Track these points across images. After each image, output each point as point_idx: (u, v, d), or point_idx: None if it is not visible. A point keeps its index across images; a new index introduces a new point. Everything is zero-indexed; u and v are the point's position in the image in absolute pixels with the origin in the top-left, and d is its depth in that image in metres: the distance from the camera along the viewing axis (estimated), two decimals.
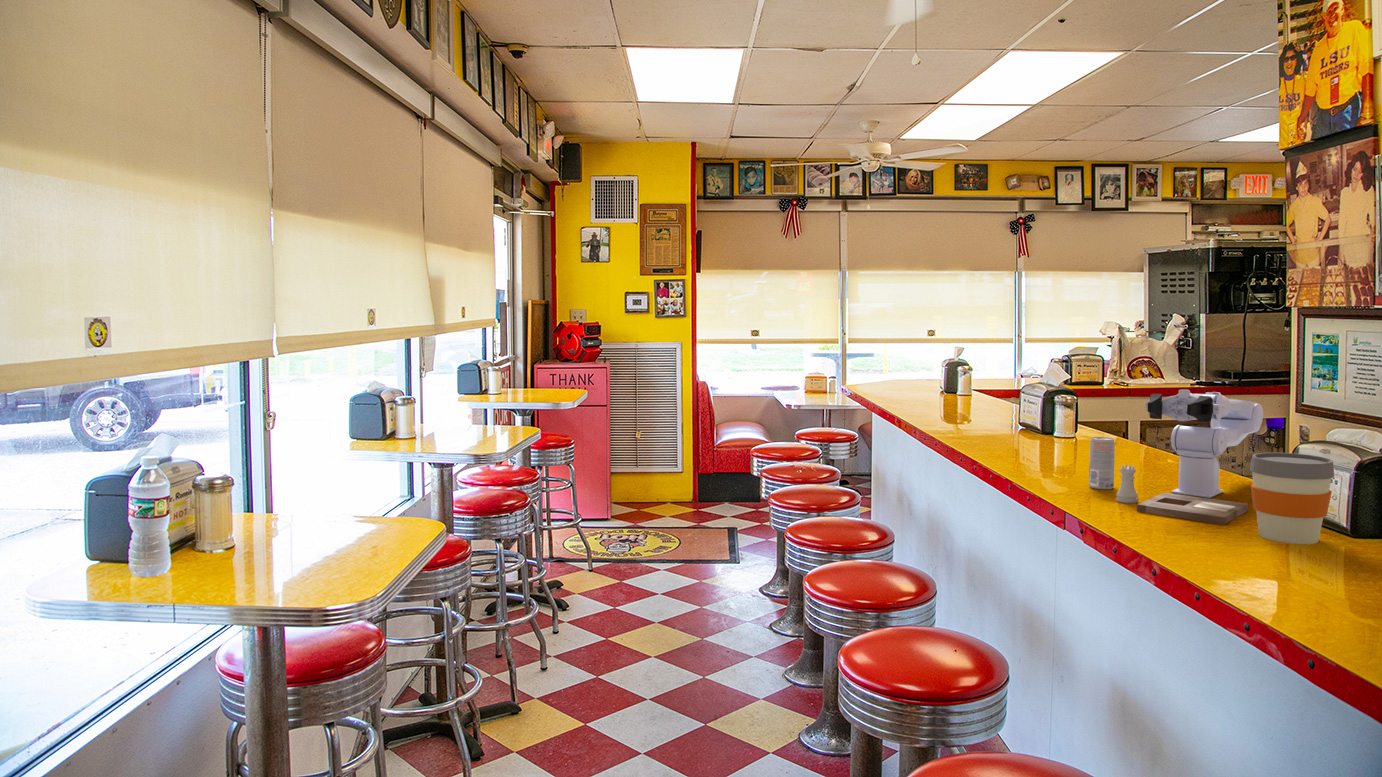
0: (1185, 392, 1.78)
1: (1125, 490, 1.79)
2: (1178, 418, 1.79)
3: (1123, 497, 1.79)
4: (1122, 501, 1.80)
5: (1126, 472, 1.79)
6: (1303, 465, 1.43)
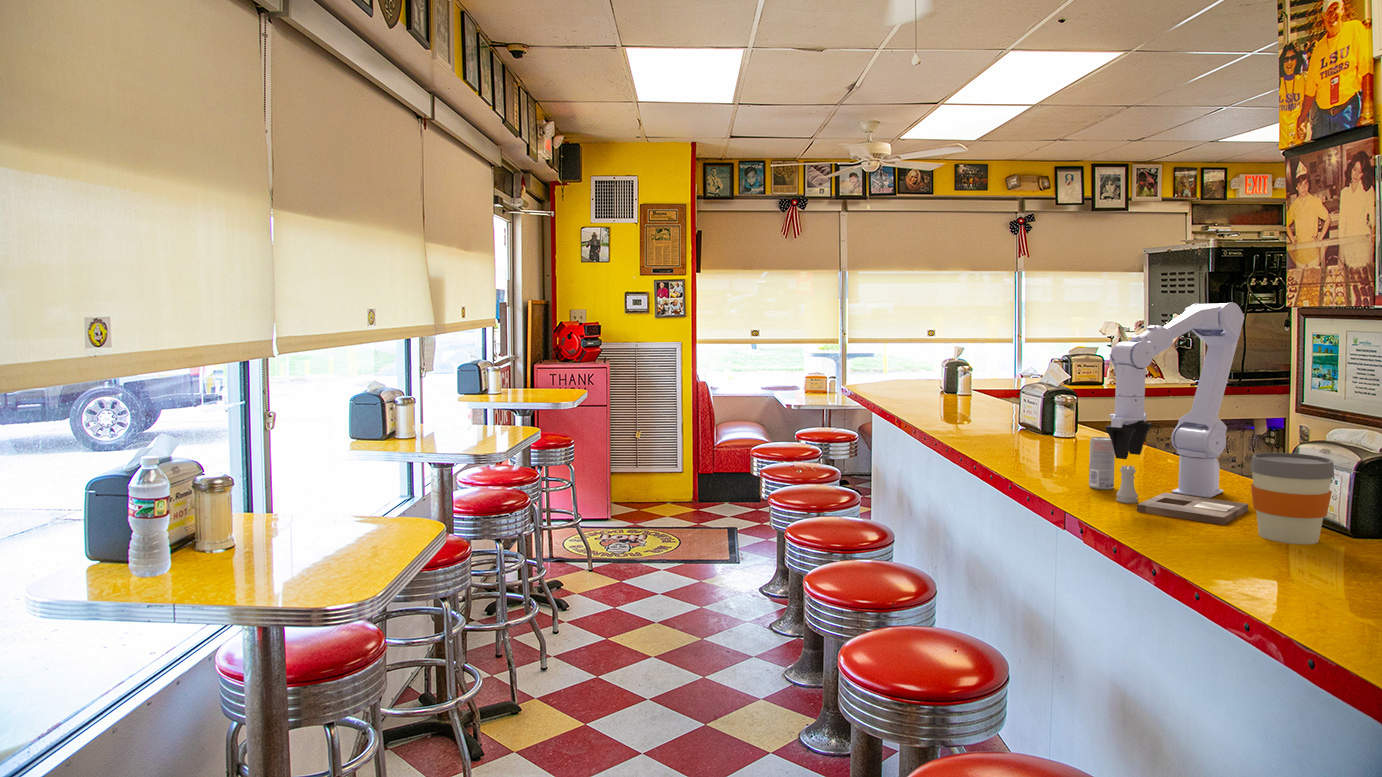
0: None
1: (1125, 490, 1.79)
2: None
3: (1123, 497, 1.79)
4: (1122, 501, 1.80)
5: (1126, 472, 1.79)
6: (1303, 465, 1.43)
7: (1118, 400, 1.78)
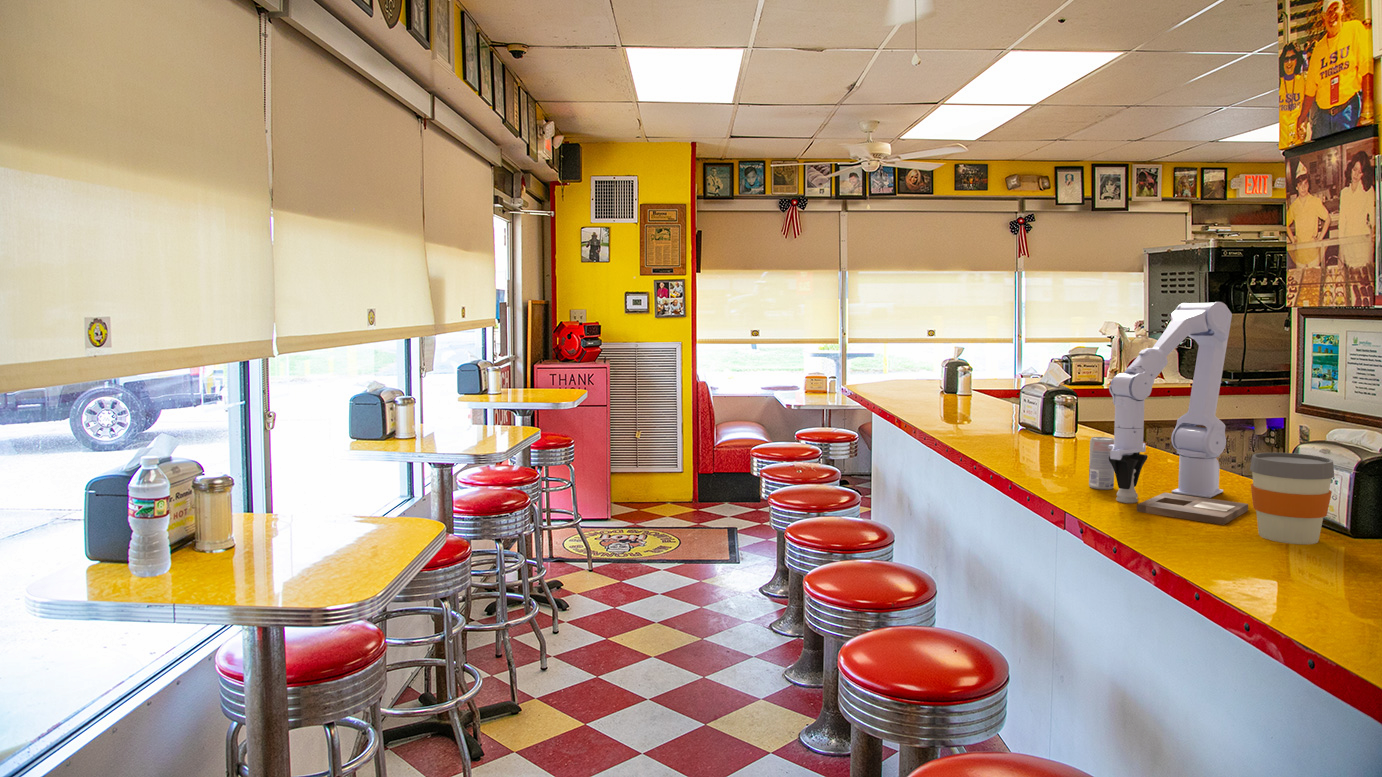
0: None
1: (1125, 490, 1.79)
2: None
3: (1123, 497, 1.79)
4: (1122, 501, 1.80)
5: None
6: (1303, 465, 1.43)
7: (1117, 431, 1.79)
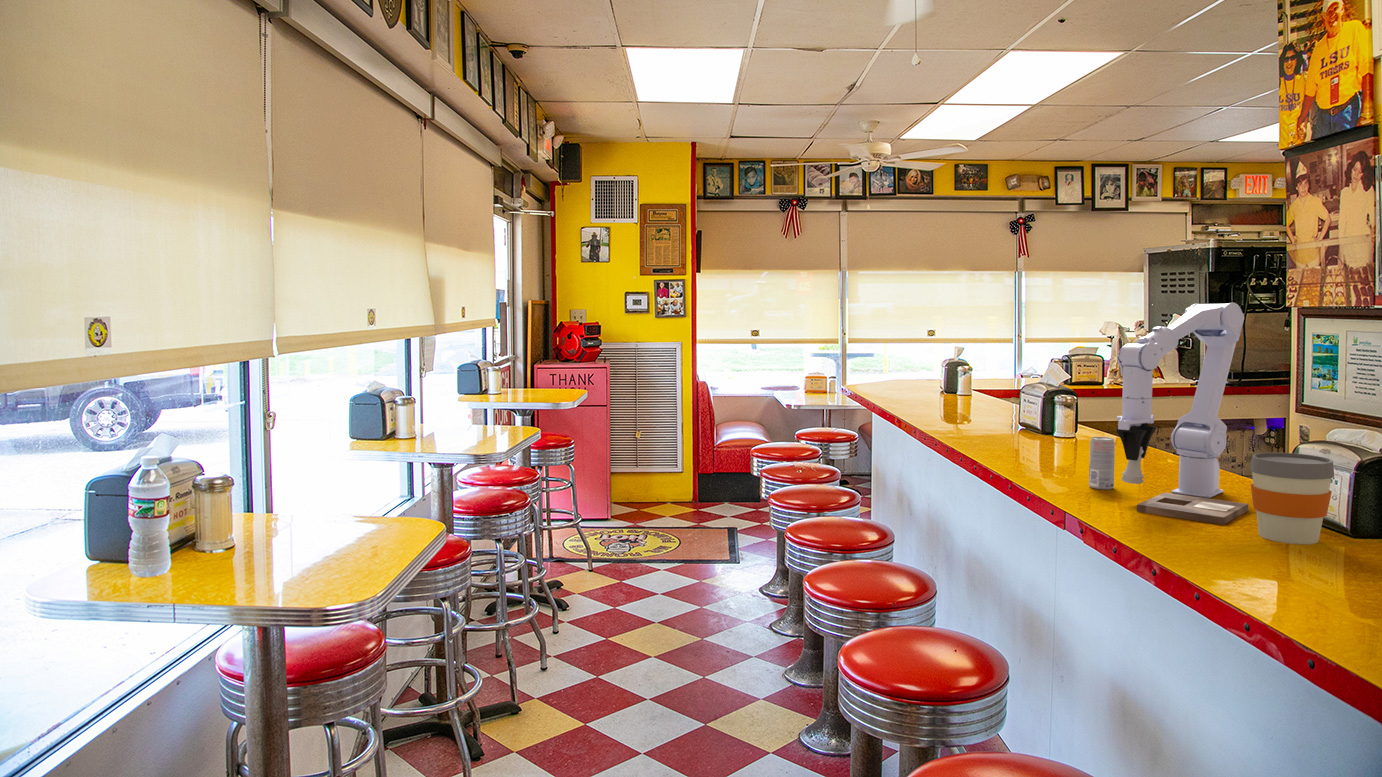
0: None
1: (1131, 470, 1.78)
2: None
3: (1129, 477, 1.78)
4: (1128, 481, 1.78)
5: None
6: (1303, 465, 1.43)
7: (1125, 402, 1.77)
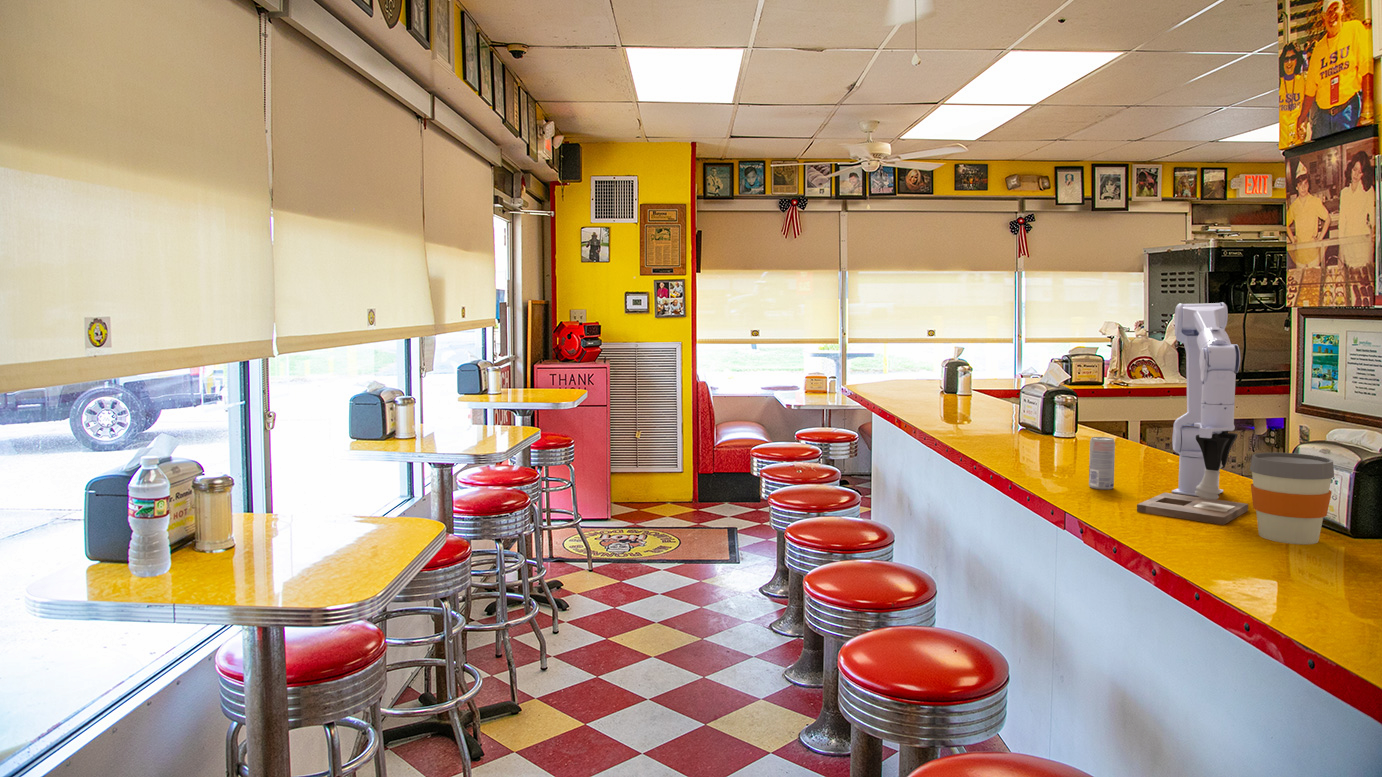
0: (1197, 426, 1.69)
1: (1207, 485, 1.67)
2: None
3: (1205, 492, 1.67)
4: (1203, 496, 1.67)
5: None
6: (1303, 465, 1.43)
7: (1205, 408, 1.66)
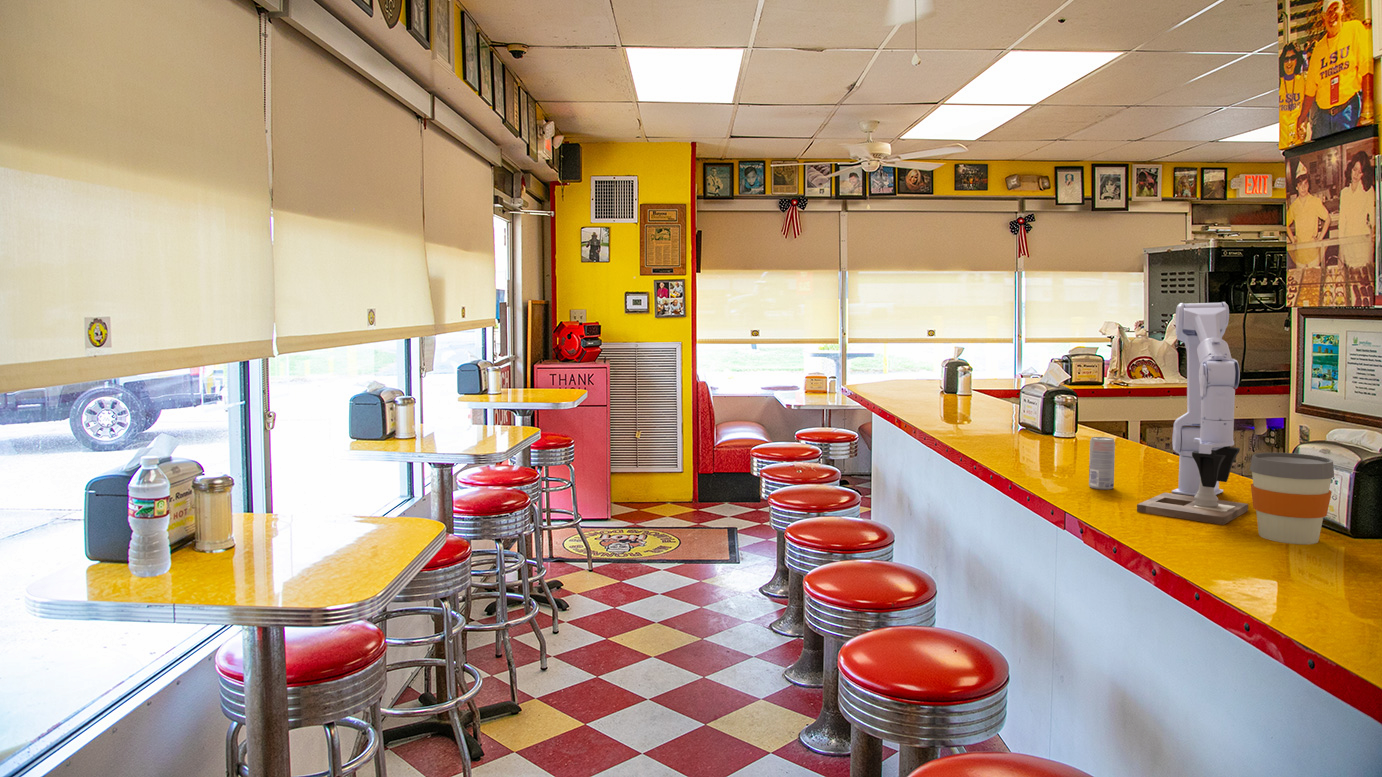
0: (1197, 441, 1.69)
1: (1204, 493, 1.68)
2: None
3: (1203, 501, 1.67)
4: (1202, 505, 1.68)
5: None
6: (1303, 465, 1.43)
7: (1205, 424, 1.66)
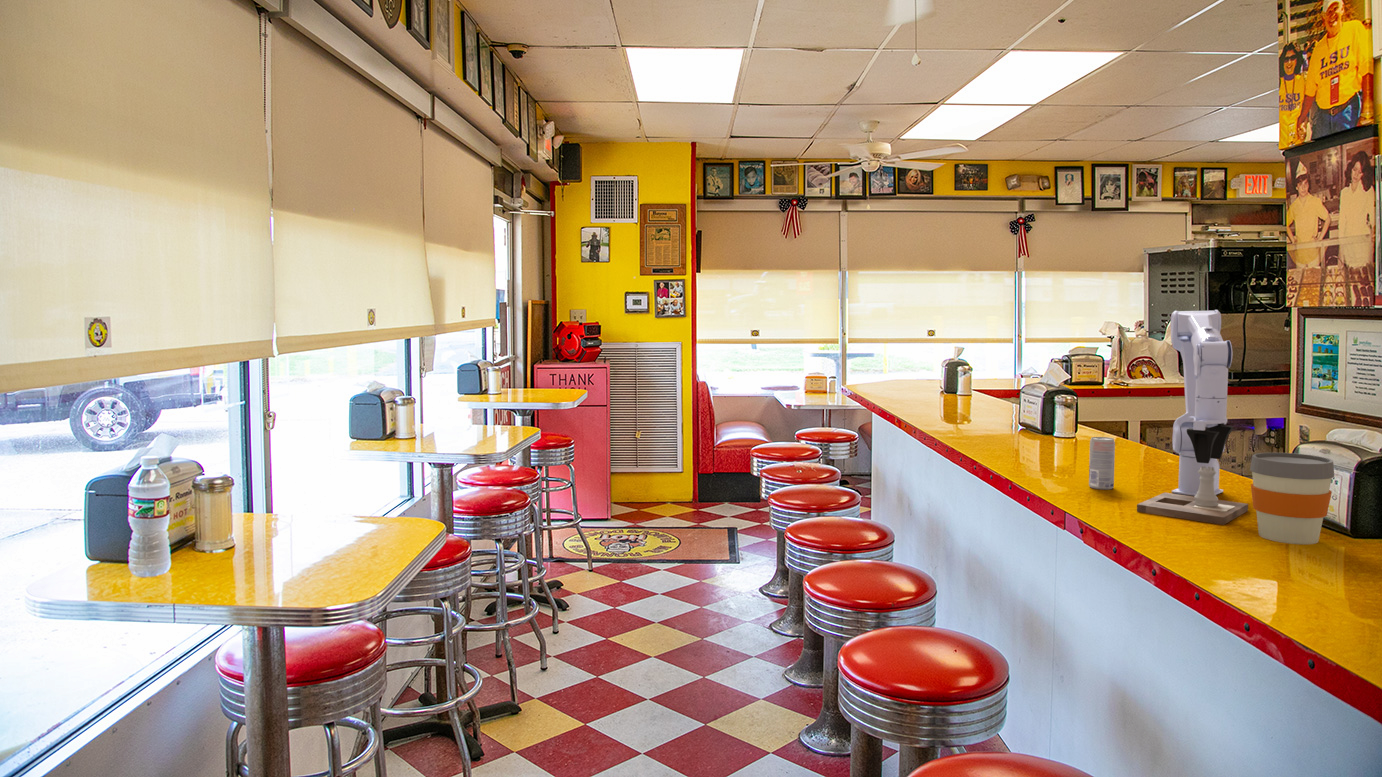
0: (1191, 420, 1.75)
1: (1204, 493, 1.68)
2: None
3: (1203, 501, 1.67)
4: (1202, 505, 1.68)
5: (1206, 473, 1.67)
6: (1303, 465, 1.43)
7: (1199, 402, 1.72)
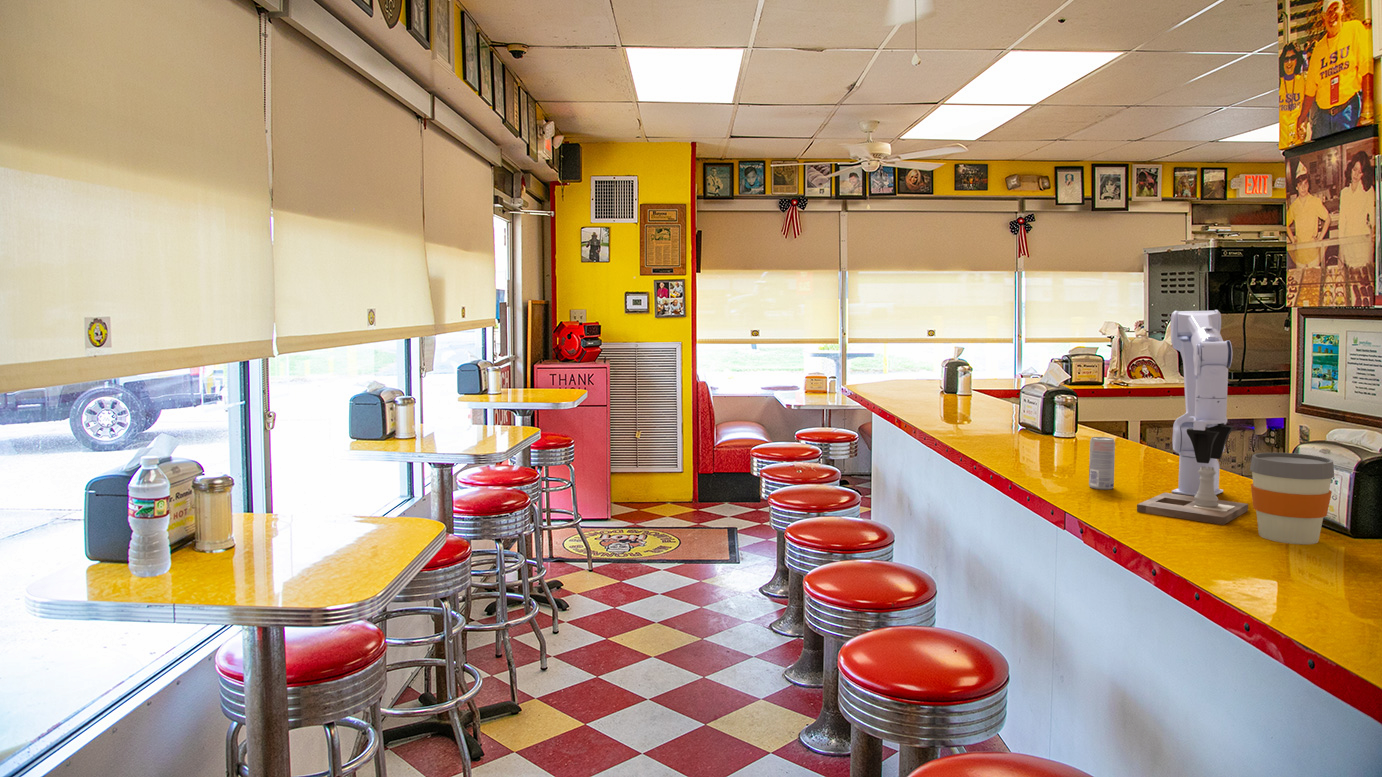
0: (1191, 420, 1.75)
1: (1204, 493, 1.68)
2: None
3: (1203, 501, 1.67)
4: (1202, 505, 1.68)
5: (1206, 473, 1.67)
6: (1303, 465, 1.43)
7: (1199, 402, 1.72)
